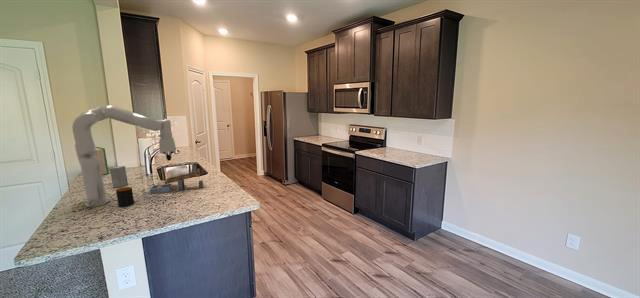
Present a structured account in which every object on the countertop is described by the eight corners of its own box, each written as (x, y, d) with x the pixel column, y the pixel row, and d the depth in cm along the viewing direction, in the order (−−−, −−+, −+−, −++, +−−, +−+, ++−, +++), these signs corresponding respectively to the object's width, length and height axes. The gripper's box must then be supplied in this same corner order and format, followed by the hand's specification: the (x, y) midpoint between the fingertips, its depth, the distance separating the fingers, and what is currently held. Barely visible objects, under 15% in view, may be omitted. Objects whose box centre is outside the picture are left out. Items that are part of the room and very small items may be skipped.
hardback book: (108, 174, 248) (104, 148, 243) (99, 176, 242) (94, 149, 237) (101, 171, 258) (97, 146, 253) (92, 173, 252) (87, 148, 247)
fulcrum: (187, 186, 209) (186, 175, 208) (184, 191, 198) (183, 180, 196) (179, 187, 207) (177, 176, 206) (175, 192, 196) (174, 181, 195)
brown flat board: (202, 170, 217) (200, 165, 216) (199, 175, 201) (197, 170, 200) (169, 178, 211) (168, 173, 210) (164, 184, 195) (162, 179, 194)
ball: (160, 185, 196) (155, 188, 196) (162, 190, 197) (157, 192, 197) (161, 184, 200) (156, 186, 199) (163, 188, 201) (159, 190, 200)
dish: (169, 192, 197) (169, 187, 196) (150, 194, 193) (149, 189, 192) (172, 188, 205) (171, 183, 204) (153, 190, 201) (153, 185, 200)
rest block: (202, 188, 204) (201, 182, 203) (199, 188, 204) (198, 182, 203) (203, 186, 209) (202, 180, 208) (199, 186, 208) (199, 180, 208)
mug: (119, 209, 166) (117, 193, 164) (118, 204, 175) (115, 189, 173) (135, 206, 171) (133, 190, 169) (133, 201, 180) (131, 186, 178)
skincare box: (121, 188, 208) (117, 168, 205) (112, 188, 208) (108, 168, 205) (128, 184, 216) (126, 165, 213) (120, 184, 216) (117, 165, 213)
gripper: (153, 137, 195) (156, 162, 199) (176, 136, 200) (178, 160, 203) (156, 136, 203) (159, 159, 206) (178, 135, 207) (181, 158, 210)
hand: (169, 160), depth 204 cm, fingers closed
